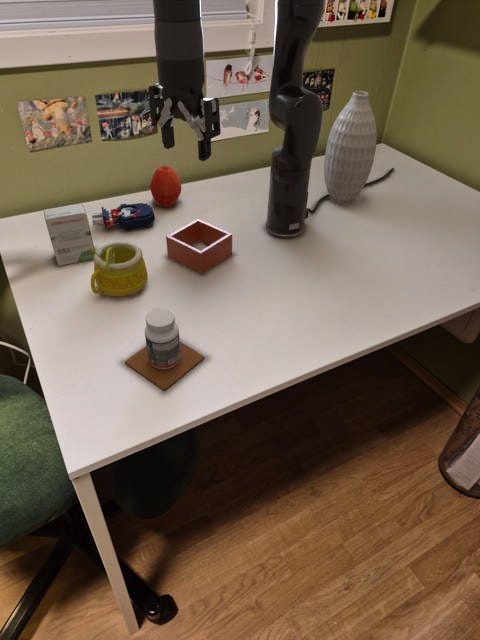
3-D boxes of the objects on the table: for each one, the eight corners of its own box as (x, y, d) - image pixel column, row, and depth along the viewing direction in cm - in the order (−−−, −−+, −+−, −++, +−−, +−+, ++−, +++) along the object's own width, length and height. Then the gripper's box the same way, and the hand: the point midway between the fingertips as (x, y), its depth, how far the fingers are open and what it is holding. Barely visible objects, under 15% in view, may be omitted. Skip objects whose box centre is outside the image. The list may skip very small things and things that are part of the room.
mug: (125, 264, 105) (117, 216, 97) (159, 283, 100) (153, 234, 92) (77, 290, 98) (65, 240, 90) (111, 312, 93) (101, 262, 85)
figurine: (90, 204, 117) (150, 198, 120) (93, 219, 120) (151, 212, 123) (92, 221, 111) (155, 214, 114) (95, 236, 114) (156, 229, 117)
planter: (198, 238, 114) (197, 218, 111) (232, 254, 109) (232, 233, 106) (167, 256, 108) (165, 236, 104) (201, 274, 103) (200, 253, 100)
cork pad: (165, 334, 88) (165, 332, 88) (204, 358, 84) (204, 356, 84) (124, 363, 83) (124, 361, 82) (164, 391, 78) (164, 389, 78)
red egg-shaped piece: (177, 212, 124) (175, 173, 117) (147, 209, 125) (143, 170, 118) (185, 198, 130) (183, 160, 123) (156, 195, 131) (153, 157, 124)
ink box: (93, 248, 110) (83, 202, 102) (97, 259, 107) (87, 212, 99) (55, 255, 107) (42, 208, 100) (57, 266, 104) (44, 219, 96)
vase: (370, 197, 133) (395, 91, 115) (353, 215, 125) (376, 104, 107) (330, 185, 138) (346, 82, 120) (311, 202, 130) (326, 94, 111)
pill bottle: (149, 347, 85) (143, 305, 78) (181, 346, 85) (177, 304, 79) (147, 371, 81) (141, 329, 74) (180, 370, 81) (177, 327, 74)
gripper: (230, 54, 72) (230, 157, 83) (164, 41, 79) (172, 137, 90) (197, 64, 68) (202, 171, 79) (130, 49, 74) (143, 149, 85)
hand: (186, 153), depth 84 cm, fingers open, 8 cm apart
